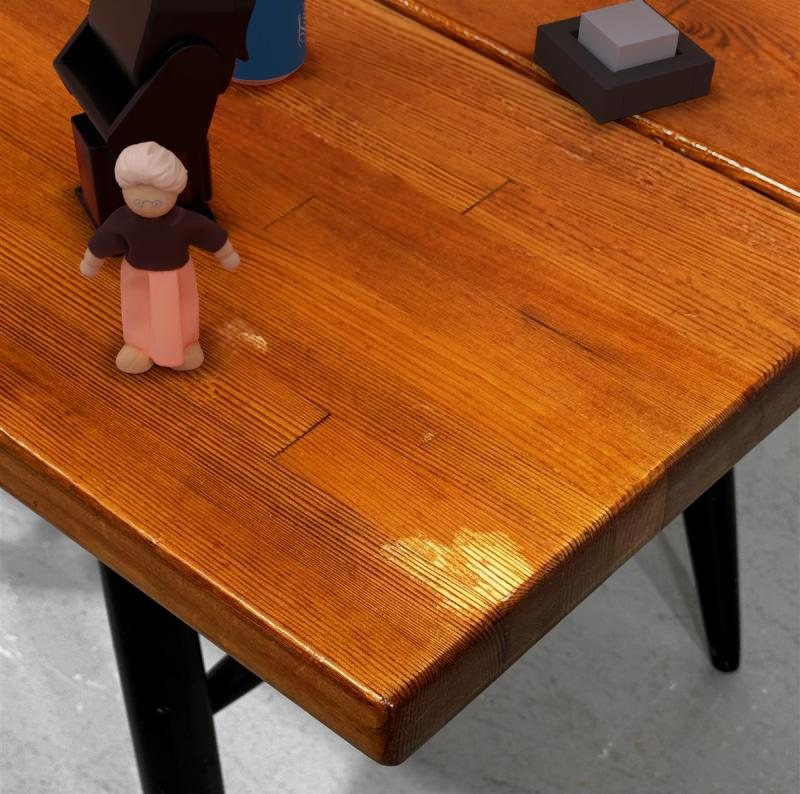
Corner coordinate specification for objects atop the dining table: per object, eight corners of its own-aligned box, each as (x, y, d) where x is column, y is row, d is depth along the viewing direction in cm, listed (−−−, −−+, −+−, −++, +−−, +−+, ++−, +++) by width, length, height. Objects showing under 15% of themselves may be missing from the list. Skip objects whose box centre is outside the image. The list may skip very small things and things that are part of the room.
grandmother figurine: (102, 392, 73) (68, 182, 64) (91, 343, 76) (56, 134, 67) (252, 366, 75) (239, 158, 66) (236, 319, 77) (222, 112, 68)
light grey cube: (610, 103, 93) (619, 46, 90) (573, 68, 96) (581, 12, 93) (669, 87, 94) (679, 31, 91) (631, 53, 97) (640, -2, 94)
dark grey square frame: (600, 124, 91) (605, 89, 89) (533, 60, 96) (536, 25, 94) (709, 94, 94) (716, 59, 92) (638, 33, 99) (643, -1, 97)
